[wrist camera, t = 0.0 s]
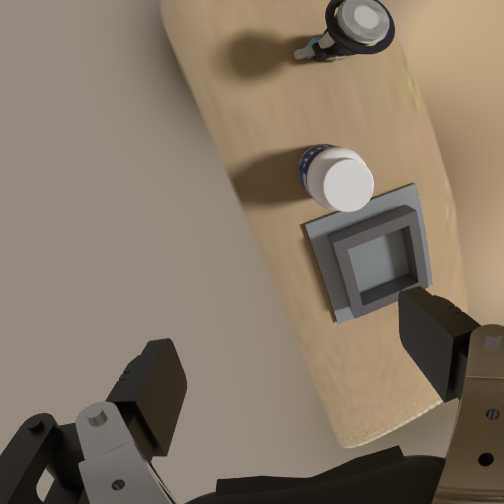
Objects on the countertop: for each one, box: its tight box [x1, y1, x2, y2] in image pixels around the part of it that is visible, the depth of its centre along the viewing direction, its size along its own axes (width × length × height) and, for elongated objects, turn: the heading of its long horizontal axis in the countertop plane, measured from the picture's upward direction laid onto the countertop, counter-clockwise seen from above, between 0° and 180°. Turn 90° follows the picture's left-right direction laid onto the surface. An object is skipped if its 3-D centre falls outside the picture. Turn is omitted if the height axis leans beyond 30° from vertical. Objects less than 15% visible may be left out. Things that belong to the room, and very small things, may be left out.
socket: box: [305, 183, 432, 324], centre depth 32 cm, size 13×13×3 cm
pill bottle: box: [297, 144, 374, 212], centre depth 26 cm, size 5×5×9 cm
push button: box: [294, 0, 395, 62], centre depth 21 cm, size 7×5×10 cm
